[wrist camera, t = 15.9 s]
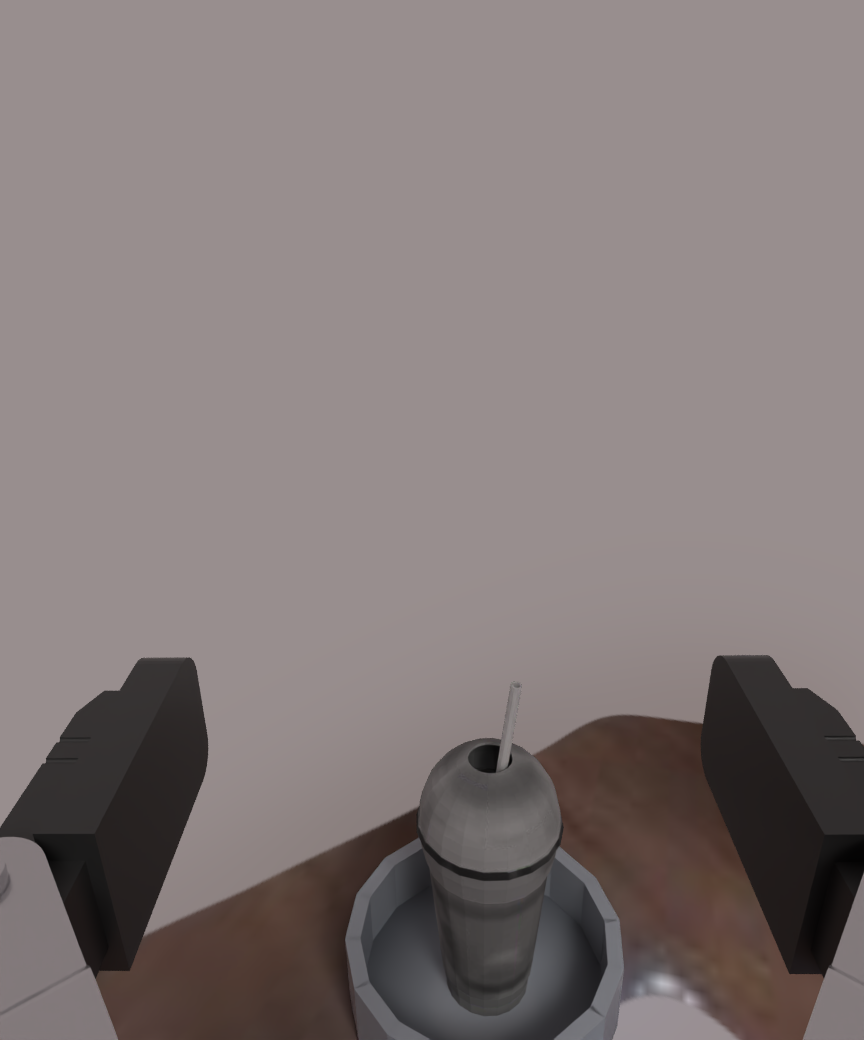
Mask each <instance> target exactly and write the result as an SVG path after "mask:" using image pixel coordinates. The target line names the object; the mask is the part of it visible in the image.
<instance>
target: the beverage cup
mask: <svg viewBox="0 0 864 1040" xmlns="http://www.w3.org/2000/svg"><path fill="white" fill-rule="evenodd" d="M521 688H522V686H521V684H520V683H519V682H512V683H511V686H510V692H509V698H508V704H507V710H506V715H505V721H504V727H503V733H502V739H501V740H499V739H494V738H485V739H477V740H473V741H469V742H465V743H463V744H461V745H459V746H457V747H455V748H454V749H452V750H451V751H449V752H448V753H447V754H446V755H445V756H444V757H443V758H442V759H441V760H440V761H439V762H438V763H437V764H436V765H435V767H434V768H433V769H432V771H431V773H430V775H429V777H428V779H427V782H426V784H425V787H424V789H423V791H422V795H421V799H420V806H419V809H418V812H417V834H418V836H419V839H420V841H421V845H422V849H423V852H424V855H425V859H426V861H427V864H428V866H429V869H430V876H431V883H432V890H433V897H434V904H435V912H436V919H437V926H438V933H439V940H440V947H441V954H442V961H443V966H444V969H445V973H446V977H447V985H448V988H449V990H450V993H451V995H452V997H453V998H454V999H455V1000H456V1001H457V1003H458V1004H459V1005H460V1006H461V1007H463V1008H464V1009H466V1010H468V1011H469V1012H471V1013H474V1014H478V1015H481V1016H498V1015H501V1014H503V1013H506V1012H509V1011H510V1010H512V1009H513V1008H514V1007H515V1006H516V1005H518V1004H519V1003H520V1001H521V999H522V998H523V996H524V994H525V993H526V988H527V983H528V977H529V976H530V972H531V967H532V962H533V956H534V950H535V944H536V939H537V933H538V927H539V921H540V916H541V910H542V904H543V898H544V893H545V887H546V881H547V875H548V874H549V873H550V870H551V867H552V864H553V862H554V859H555V855H556V850H557V849H558V847H559V846H560V843H561V838H562V833H563V828H564V827H563V823H562V818H561V814H560V808H559V804H558V799H557V795H556V791H555V787H554V784H553V782H552V780H551V778H550V777H549V775H548V774H547V772H546V771H545V770H544V768H543V767H542V765H541V764H540V762H539V761H538V760H537V759H536V758H535V757H534V756H532V755H531V754H530V753H528V752H527V751H526V750H525V749H523V748H522V747H520V746H517V745H515V744H513V743H512V739H513V734H514V727H515V722H516V716H517V710H518V705H519V699H520V693H521Z"/></svg>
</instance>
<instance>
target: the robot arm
mask: <svg viewBox="0 0 864 1040" xmlns="http://www.w3.org/2000/svg"><path fill="white" fill-rule="evenodd" d="M701 757H702V764H703V769H704V773H705V776H706V779H707V781H708V784H709V786H710V788H711V791H712V793H713V796H714V798H715V800H716V803H717V805H718V807H719V810H720V812H721V814H722V817H723V819H724V821H725V824H726V826H727V828H728V831H729V833H730V835H731V838H732V840H733V842H734V845H735V847H736V850H737V852H738V854H739V857H740V859H741V861H742V864H743V866H744V868H745V871H746V873H747V875H748V878H749V880H750V882H751V885H752V887H753V889H754V892H755V894H756V897H757V899H758V901H759V904H760V906H761V908H762V911H763V913H764V915H765V918H766V920H767V922H768V925H769V927H770V929H771V932H772V934H773V936H774V939H775V941H776V943H777V946H778V948H779V951H780V953H781V955H782V958H783V960H784V962H785V965H786V967H787V969H788V972H789V974H822V975H823V977H824V981H823V984H822V986H821V989H820V992H819V995H818V998H817V1001H816V1003H815V1006H814V1009H813V1012H812V1015H811V1018H810V1021H809V1023H808V1026H807V1029H806V1032H805V1035H804V1038H803V1040H864V747H863V745H862V744H861V742H860V741H856V735H855V734H854V733H853V731H852V730H851V728H850V727H849V726H848V724H847V723H846V721H845V720H844V719H843V717H842V716H841V714H840V713H839V712H838V711H837V710H836V709H835V708H834V707H832V706H831V705H830V704H828V703H827V702H826V701H824V700H823V699H821V698H820V697H819V696H817V695H816V694H815V693H813V692H812V691H811V690H809V689H808V688H799V689H798V688H797V689H796V688H795V689H794V688H792V687H791V686H790V684H789V682H788V681H787V679H786V678H785V676H784V675H783V673H782V672H781V670H780V669H779V667H778V666H777V664H776V663H775V661H774V660H773V659H772V658H771V657H770V656H768V655H755V656H754V655H741V656H740V655H737V656H717V657H716V658H715V660H714V662H713V665H712V670H711V676H710V683H709V689H708V696H707V702H706V709H705V715H704V721H703V728H702V734H701ZM207 759H208V737H207V730H206V724H205V718H204V712H203V706H202V700H201V694H200V688H199V682H198V676H197V670H196V666H195V663H194V661H193V660H192V659H191V658H141V659H140V660H138V662H137V663H136V665H135V666H134V668H133V670H132V671H131V673H130V675H129V676H128V678H127V679H126V681H125V683H124V684H123V686H122V688H121V689H120V691H104V692H102V693H101V694H100V695H98V696H97V697H96V698H94V699H93V700H92V701H91V702H89V703H88V704H87V705H85V706H84V707H83V708H82V709H80V710H79V711H78V712H76V714H75V715H74V717H73V718H72V720H71V722H70V723H69V725H68V726H67V727H66V729H65V731H64V732H63V734H62V735H61V737H60V742H59V743H56V744H55V746H54V747H53V749H52V750H51V752H50V753H49V755H48V756H47V758H46V763H45V764H42V765H41V767H40V768H39V770H38V771H37V773H36V774H35V776H34V777H33V779H32V780H31V782H30V783H29V785H28V786H27V788H26V789H25V791H24V792H23V794H22V795H21V797H20V798H19V800H18V801H17V803H16V805H15V806H14V808H13V809H12V811H11V812H10V814H9V815H8V817H7V818H6V820H5V821H4V823H3V824H2V826H1V828H0V1040H118V1038H117V1035H116V1033H115V1030H114V1027H113V1025H112V1022H111V1019H110V1017H109V1014H108V1011H107V1009H106V1006H105V1004H104V1001H103V998H102V996H101V993H100V990H99V988H98V985H97V982H96V980H95V979H96V976H97V974H98V972H99V971H130V968H131V966H132V963H133V961H134V958H135V955H136V953H137V950H138V948H139V945H140V942H141V940H142V937H143V935H144V932H145V929H146V927H147V924H148V922H149V919H150V916H151V914H152V911H153V908H154V906H155V904H156V900H157V898H158V895H159V893H160V891H161V888H162V885H163V882H164V880H165V878H166V875H167V872H168V870H169V867H170V865H171V862H172V859H173V857H174V854H175V852H176V849H177V847H178V844H179V841H180V838H181V836H182V834H183V831H184V828H185V826H186V823H187V821H188V818H189V815H190V813H191V810H192V807H193V805H194V802H195V800H196V797H197V794H198V792H199V789H200V787H201V784H202V782H203V779H204V776H205V772H206V767H207Z"/></svg>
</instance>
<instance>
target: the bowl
mask: <svg viewBox="0 0 864 1040" xmlns="http://www.w3.org/2000/svg"><path fill="white" fill-rule="evenodd" d="M345 945H346V956H347V967H348V978H349V989H350V998H351V1003H352V1009H353V1014H354V1020H355V1025H356V1031H357V1036H358V1040H612V1039H613V1036H614V1033H615V1031H616V1028H617V1022H618V1015H619V1007H620V998H621V990H622V982H623V973H624V963H623V953H622V942H621V932H620V921H619V918H618V917H617V915H616V913H615V911H614V909H613V908H612V906H611V904H610V902H609V900H608V899H607V897H606V895H605V893H604V891H603V890H602V888H601V886H600V884H599V882H598V881H597V879H596V877H594V876H593V875H592V874H591V873H590V872H589V871H587V870H586V869H585V868H584V867H583V866H581V865H580V864H579V863H578V862H577V861H576V860H574V859H573V858H572V857H571V856H570V855H569V854H567V853H566V852H565V851H564V850H563V849H561V848H560V847H558V849H557V850H556V855H555V859H554V862H553V864H552V867H551V870H550V873H549V874H548V875H547V881H546V887H545V893H544V898H543V904H542V910H541V916H540V921H539V927H538V933H537V939H536V944H535V950H534V956H533V962H532V967H531V972H530V976H529V977H528V983H527V988H526V993H525V994H524V996H523V998H522V999H521V1001H520V1003H519V1004H518V1005H516V1006H515V1007H514V1008H513V1009H512V1010H510V1011H509V1012H506V1013H503V1014H501V1015H498V1016H481V1015H478V1014H474V1013H471V1012H469V1011H468V1010H466V1009H464V1008H463V1007H461V1006H460V1005H459V1004H458V1003H457V1001H456V1000H455V999H454V998H453V997H452V995H451V993H450V990H449V988H448V985H447V977H446V973H445V969H444V966H443V961H442V954H441V947H440V940H439V933H438V926H437V919H436V912H435V904H434V897H433V890H432V883H431V876H430V869H429V866H428V864H427V861H426V859H425V855H424V852H423V849H422V845H421V841H420V839H419V838H417V839H416V840H414V841H412V842H411V843H409V844H407V845H406V846H404V847H402V848H401V849H399V850H397V851H396V852H394V853H392V854H391V855H389V856H387V857H386V858H384V860H383V861H382V862H381V863H380V865H379V866H378V867H377V869H376V870H375V871H374V872H373V874H372V875H371V876H370V877H369V879H368V880H367V881H366V883H365V884H364V885H363V886H362V888H361V889H360V890H359V892H358V893H357V895H356V899H355V902H354V906H353V910H352V914H351V918H350V922H349V926H348V929H347V933H346V937H345Z"/></svg>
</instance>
